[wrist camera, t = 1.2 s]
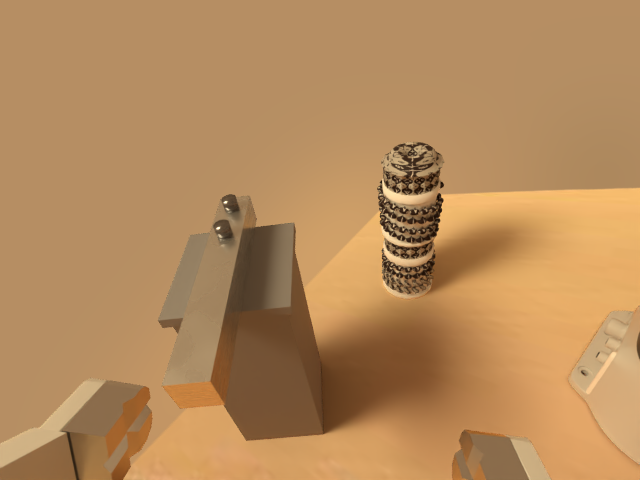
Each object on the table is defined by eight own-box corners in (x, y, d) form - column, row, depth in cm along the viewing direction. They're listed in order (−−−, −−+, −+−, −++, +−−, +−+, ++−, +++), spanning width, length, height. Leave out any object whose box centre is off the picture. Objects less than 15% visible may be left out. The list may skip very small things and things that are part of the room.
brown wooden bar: (229, 222, 39) (217, 189, 36) (256, 218, 39) (246, 185, 36) (180, 408, 24) (153, 375, 21) (225, 404, 24) (203, 370, 21)
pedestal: (251, 366, 55) (190, 235, 38) (324, 359, 54) (293, 222, 38) (242, 445, 47) (158, 320, 30) (327, 437, 46) (290, 306, 29)
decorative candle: (383, 260, 69) (380, 135, 52) (434, 264, 66) (448, 134, 50) (377, 297, 62) (371, 168, 46) (434, 303, 60) (449, 168, 43)
